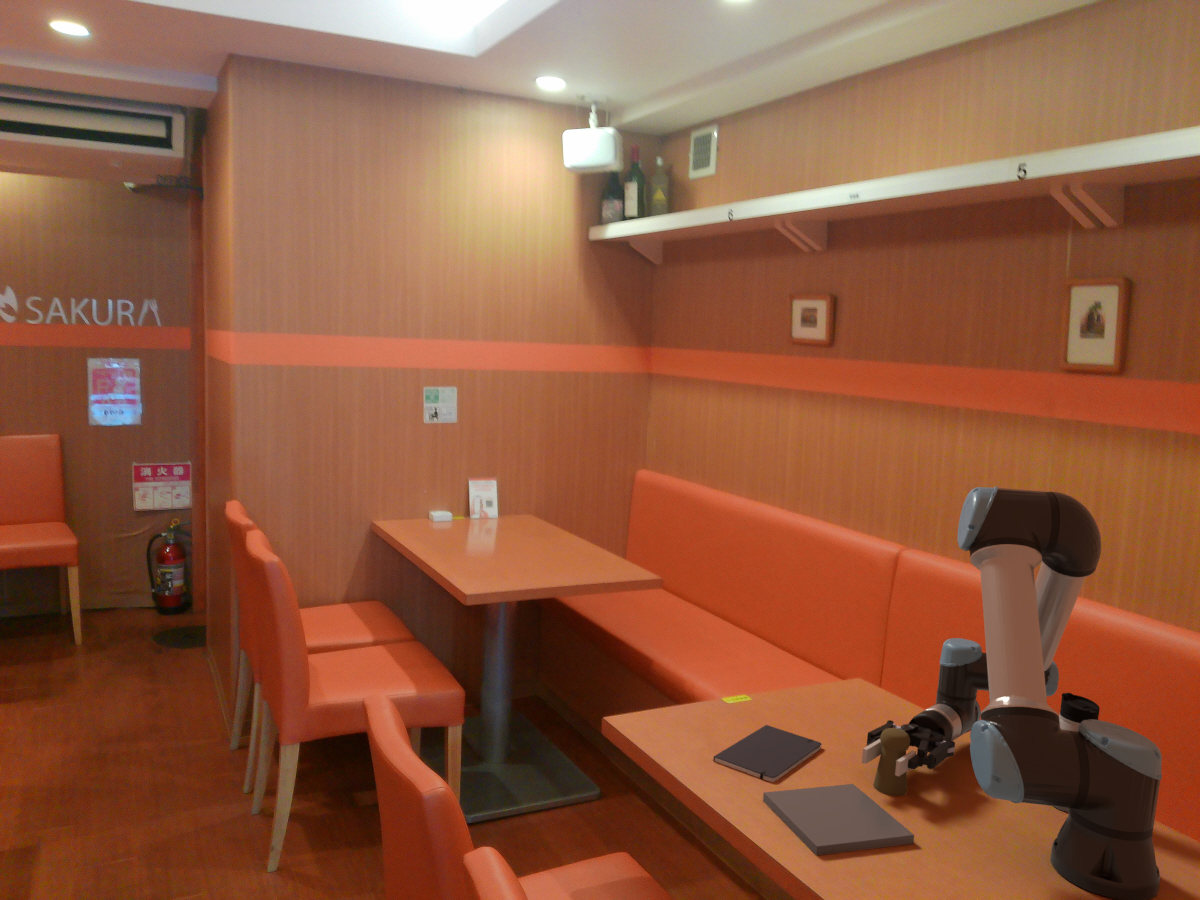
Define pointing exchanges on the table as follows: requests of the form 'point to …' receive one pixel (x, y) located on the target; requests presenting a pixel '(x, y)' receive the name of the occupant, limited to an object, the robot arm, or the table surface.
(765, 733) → the notebook
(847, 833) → the slate board
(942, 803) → the table surface
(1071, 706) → the travel mug
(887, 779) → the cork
